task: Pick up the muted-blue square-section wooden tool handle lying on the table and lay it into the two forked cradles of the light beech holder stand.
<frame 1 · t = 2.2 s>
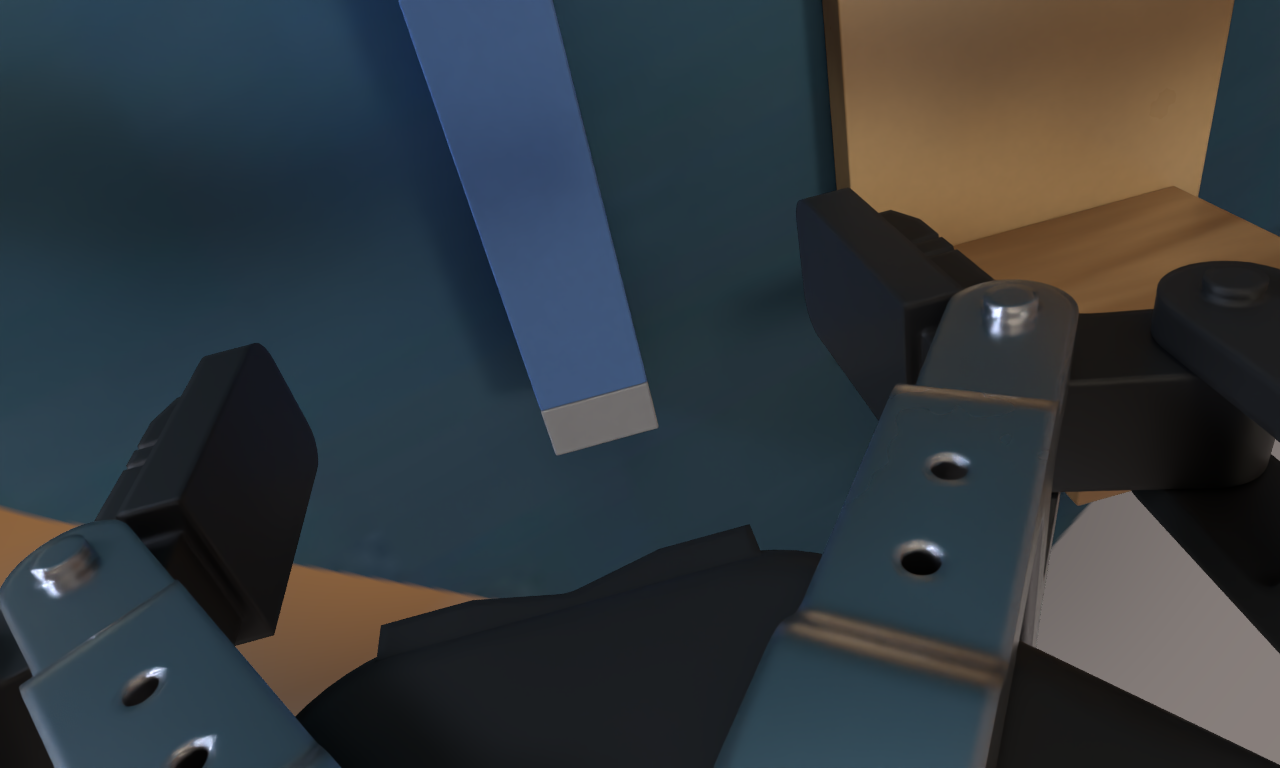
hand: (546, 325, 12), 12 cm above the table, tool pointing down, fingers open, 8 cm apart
handle: (514, 106, 22), on the table
holder: (1018, 12, 23), on the table
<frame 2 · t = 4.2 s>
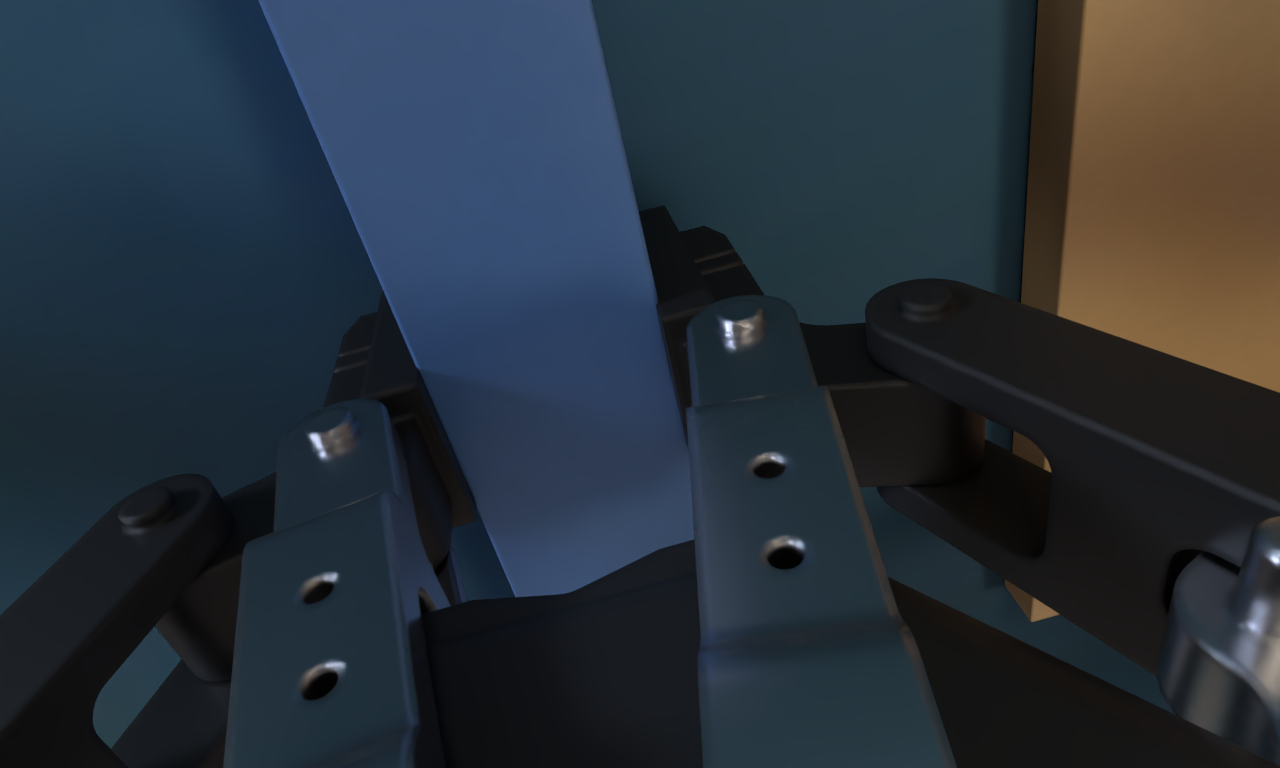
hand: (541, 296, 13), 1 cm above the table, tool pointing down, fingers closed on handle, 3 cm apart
handle: (540, 276, 14), on the table, touching gripper
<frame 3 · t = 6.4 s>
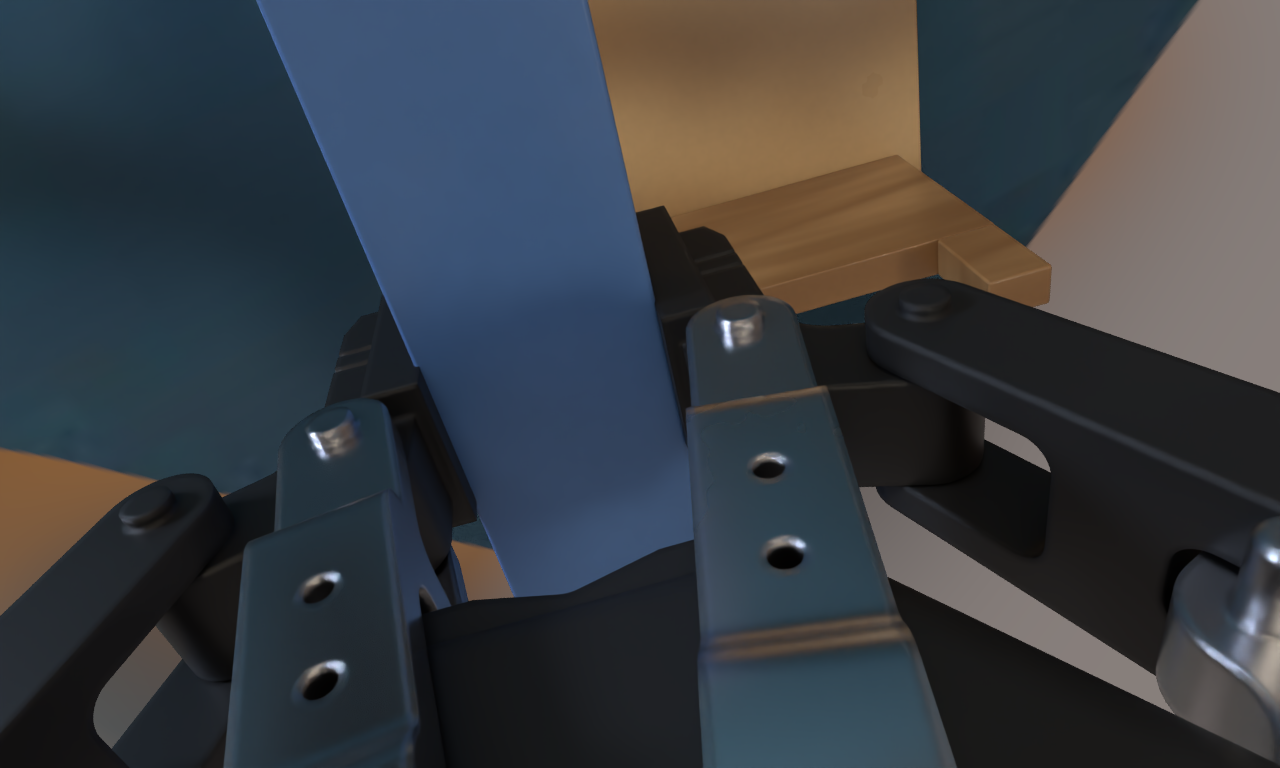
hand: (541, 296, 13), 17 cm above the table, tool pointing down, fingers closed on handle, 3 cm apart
handle: (539, 276, 14), point 16 cm above the table, touching gripper
holder: (743, 11, 28), on the table
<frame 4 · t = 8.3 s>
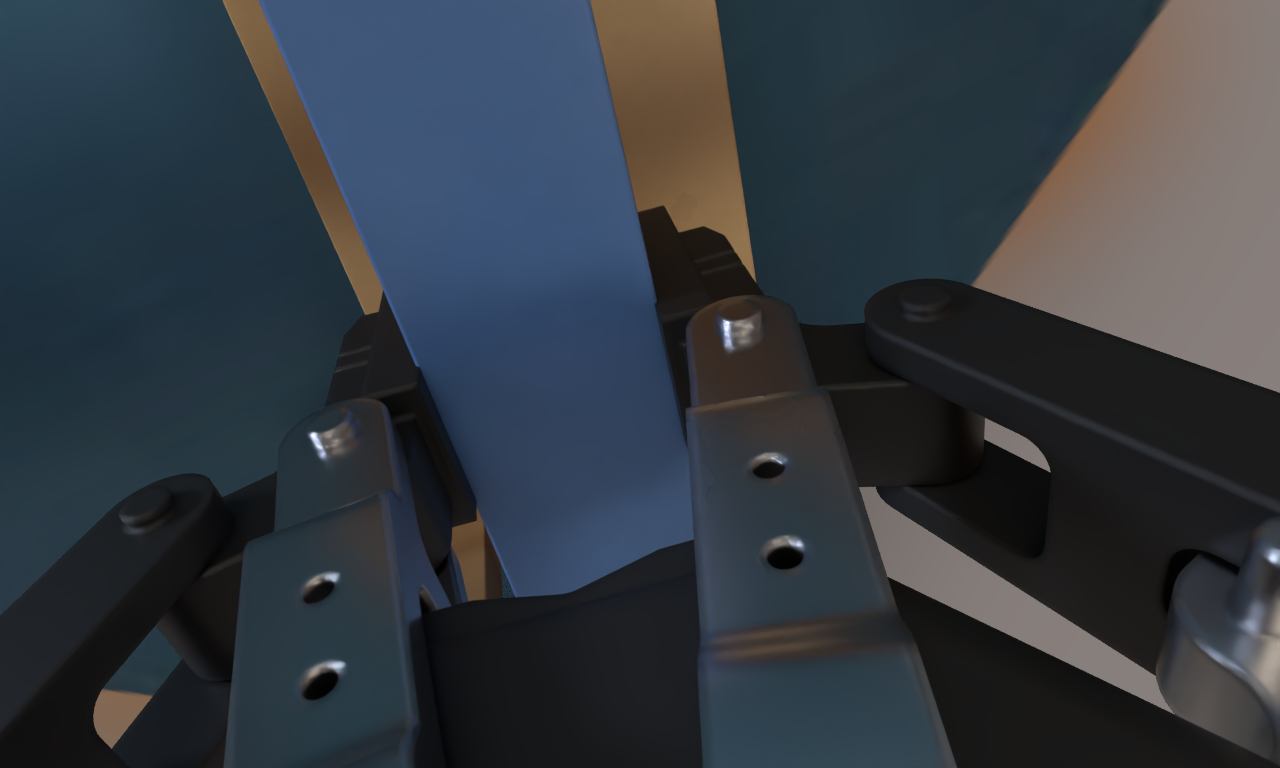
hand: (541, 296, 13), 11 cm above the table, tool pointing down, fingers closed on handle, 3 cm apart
handle: (541, 278, 14), point 10 cm above the table, touching gripper
holder: (515, 116, 22), on the table
when the fingers open (9 cm above the table, at t = 9.1 s): handle stays where it is, resting on holder.
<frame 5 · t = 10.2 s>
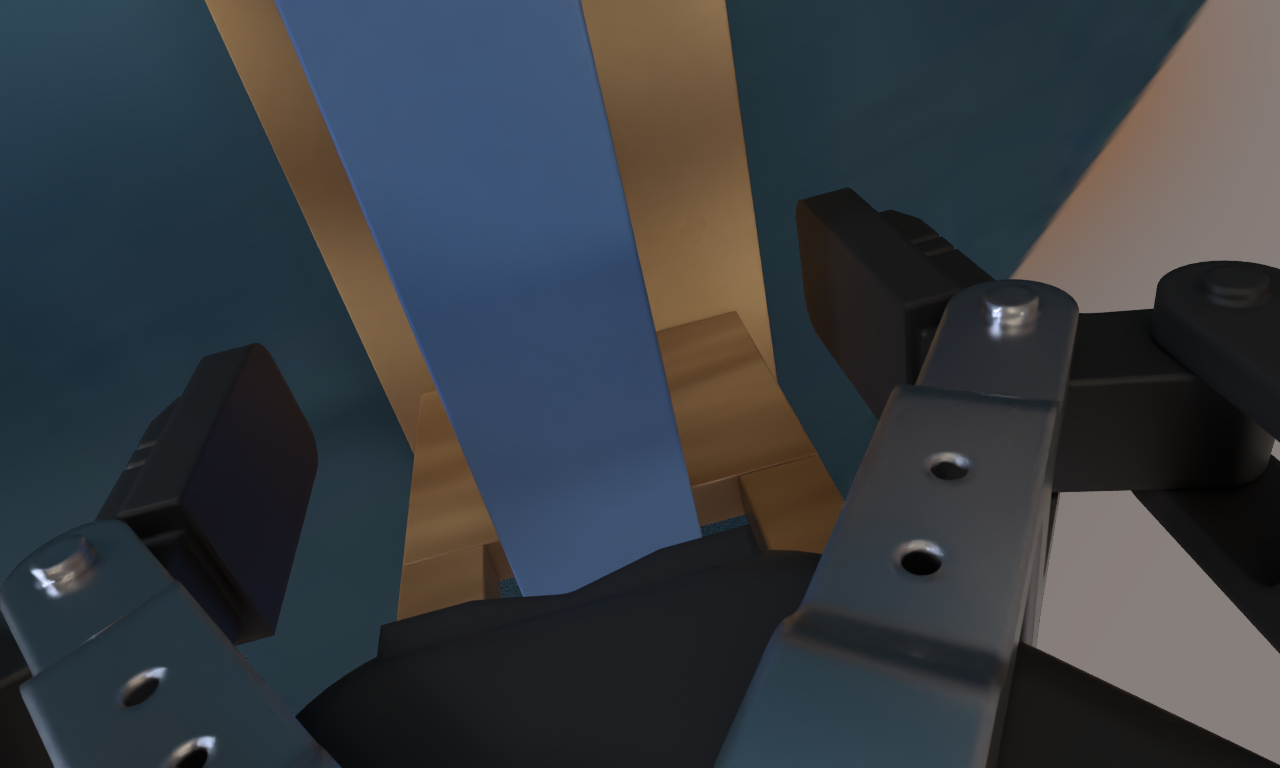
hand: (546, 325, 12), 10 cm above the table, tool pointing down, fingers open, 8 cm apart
handle: (537, 268, 15), point 8 cm above the table, touching holder
holder: (518, 135, 21), on the table
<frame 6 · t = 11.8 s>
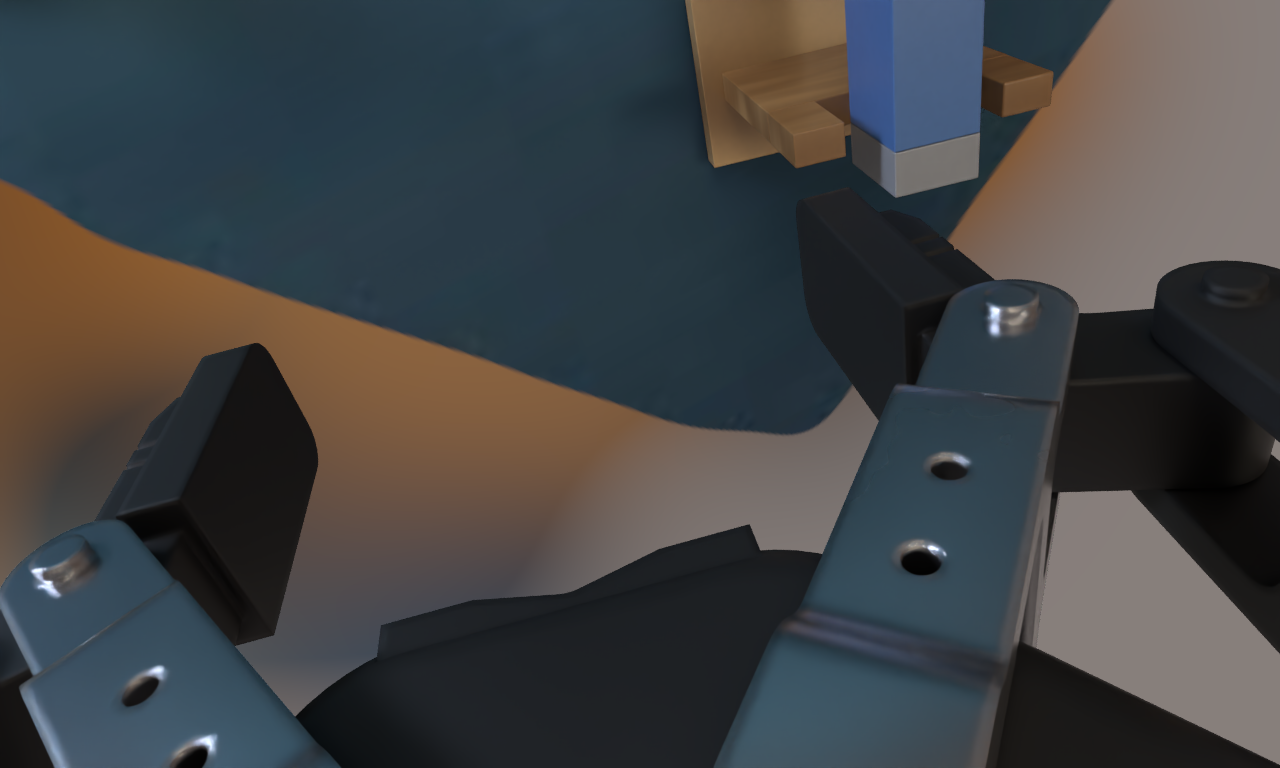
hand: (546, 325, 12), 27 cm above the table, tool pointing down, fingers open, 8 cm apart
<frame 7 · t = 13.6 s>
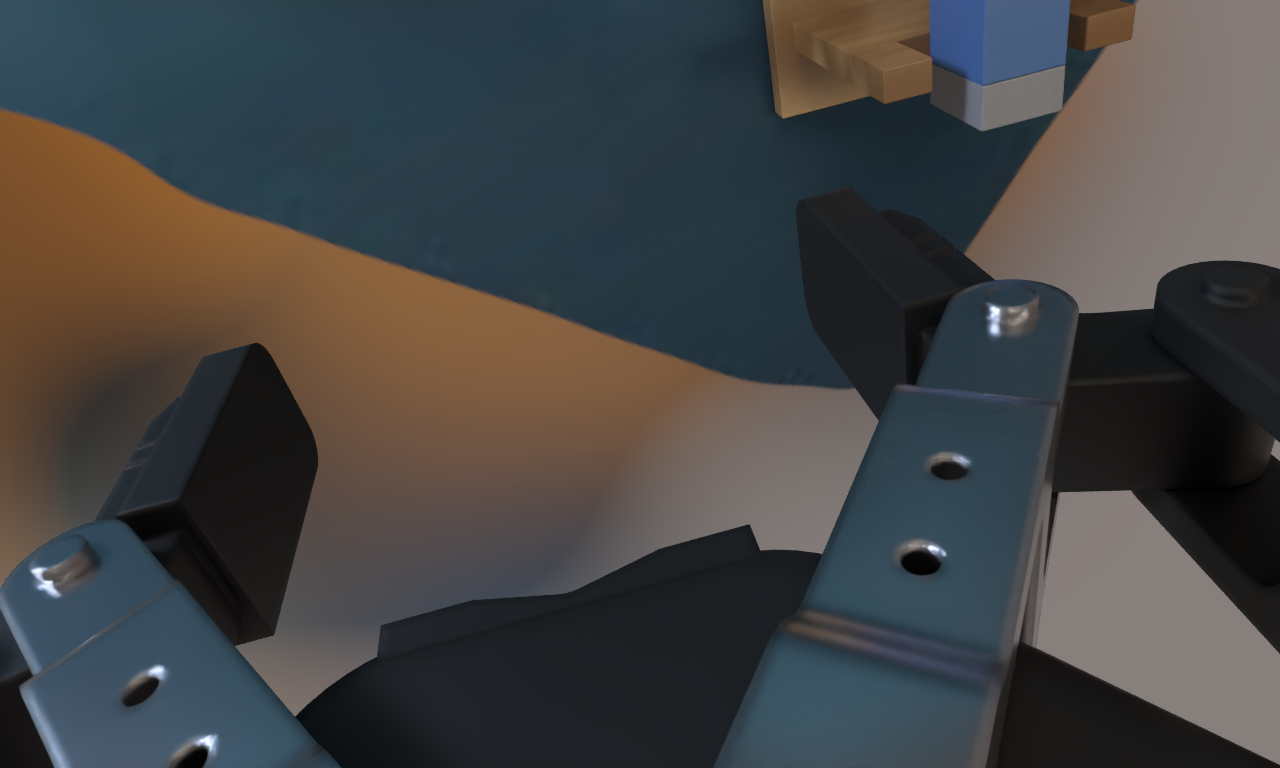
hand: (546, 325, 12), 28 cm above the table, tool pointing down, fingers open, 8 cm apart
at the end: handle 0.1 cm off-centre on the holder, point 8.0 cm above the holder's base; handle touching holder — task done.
